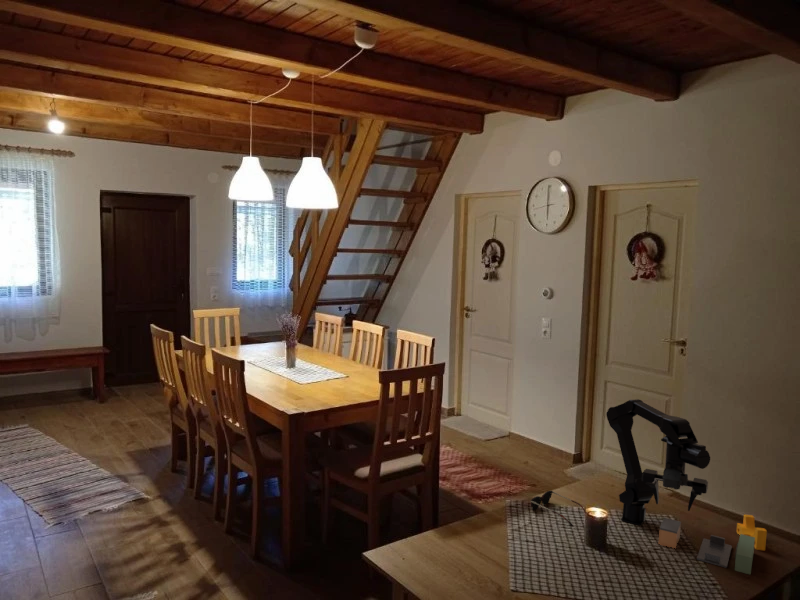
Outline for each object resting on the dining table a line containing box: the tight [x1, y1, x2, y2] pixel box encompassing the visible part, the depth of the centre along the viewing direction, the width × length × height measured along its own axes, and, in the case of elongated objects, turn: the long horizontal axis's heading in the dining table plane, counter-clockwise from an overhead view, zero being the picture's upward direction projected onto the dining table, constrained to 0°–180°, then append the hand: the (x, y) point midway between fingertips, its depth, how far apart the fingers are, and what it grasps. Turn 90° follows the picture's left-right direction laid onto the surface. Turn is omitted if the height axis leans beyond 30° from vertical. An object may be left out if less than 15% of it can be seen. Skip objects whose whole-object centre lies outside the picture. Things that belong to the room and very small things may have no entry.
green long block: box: [734, 534, 755, 576], centre depth 184 cm, size 4×16×5 cm, turn 147°
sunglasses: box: [530, 490, 586, 527], centre depth 212 cm, size 14×16×5 cm
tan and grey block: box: [658, 517, 682, 550], centre depth 195 cm, size 5×9×6 cm, turn 148°
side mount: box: [696, 534, 733, 569], centre depth 188 cm, size 8×16×3 cm, turn 147°
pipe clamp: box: [736, 513, 768, 551], centre depth 198 cm, size 12×4×6 cm, turn 169°
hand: (672, 507), depth 194 cm, fingers open, 9 cm apart
